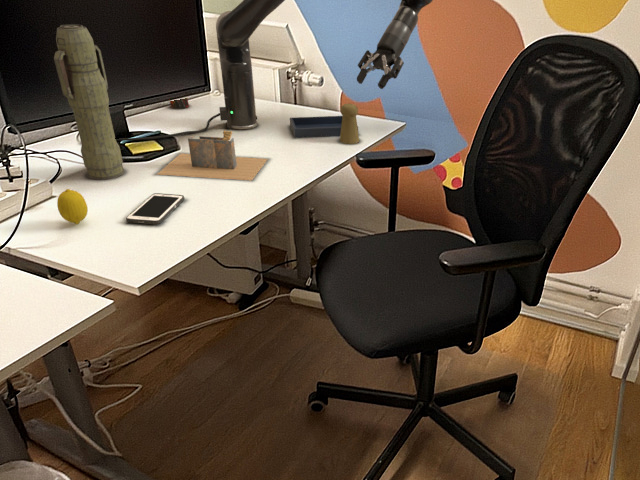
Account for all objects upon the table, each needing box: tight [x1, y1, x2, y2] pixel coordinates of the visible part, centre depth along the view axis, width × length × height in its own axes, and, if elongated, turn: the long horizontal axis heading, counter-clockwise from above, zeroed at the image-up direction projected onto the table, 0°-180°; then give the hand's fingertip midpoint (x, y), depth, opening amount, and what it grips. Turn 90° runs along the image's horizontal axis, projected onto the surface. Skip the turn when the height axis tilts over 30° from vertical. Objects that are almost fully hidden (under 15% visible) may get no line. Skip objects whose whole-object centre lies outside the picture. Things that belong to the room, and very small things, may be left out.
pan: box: [289, 115, 359, 139], centre depth 191 cm, size 20×13×3 cm, turn 105°
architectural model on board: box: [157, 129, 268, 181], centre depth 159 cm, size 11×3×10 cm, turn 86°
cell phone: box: [125, 192, 185, 225], centre depth 136 cm, size 8×15×1 cm, turn 175°
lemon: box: [56, 188, 89, 225], centre depth 127 cm, size 6×6×8 cm
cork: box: [339, 103, 360, 145], centre depth 181 cm, size 6×6×11 cm
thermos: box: [53, 23, 125, 181], centre depth 145 cm, size 9×12×35 cm
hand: (369, 84), depth 182 cm, fingers open, 8 cm apart
